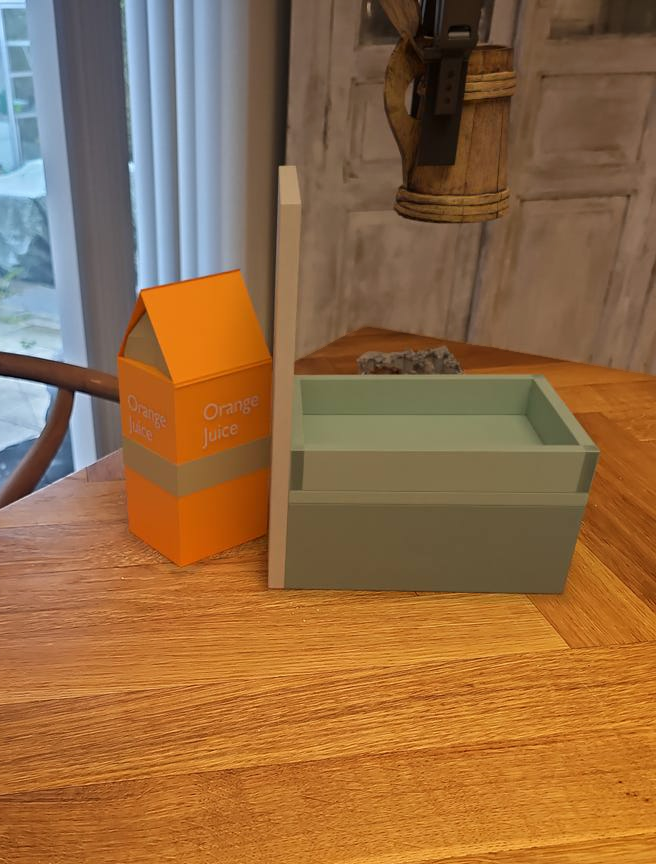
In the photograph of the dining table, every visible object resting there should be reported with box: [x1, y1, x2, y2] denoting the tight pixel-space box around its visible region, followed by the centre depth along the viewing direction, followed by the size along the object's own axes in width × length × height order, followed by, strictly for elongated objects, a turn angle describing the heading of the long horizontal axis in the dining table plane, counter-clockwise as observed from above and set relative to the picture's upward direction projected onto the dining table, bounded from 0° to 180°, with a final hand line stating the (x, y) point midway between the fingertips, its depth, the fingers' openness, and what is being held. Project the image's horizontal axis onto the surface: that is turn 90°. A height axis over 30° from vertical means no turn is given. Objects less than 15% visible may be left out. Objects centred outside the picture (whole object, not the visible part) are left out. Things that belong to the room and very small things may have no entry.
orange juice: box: [116, 268, 273, 568], centre depth 67 cm, size 8×9×20 cm
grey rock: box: [356, 345, 466, 375], centre depth 97 cm, size 11×8×4 cm
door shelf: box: [267, 165, 601, 595], centre depth 63 cm, size 21×15×26 cm
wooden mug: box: [378, 0, 517, 225], centre depth 66 cm, size 9×14×18 cm, turn 99°
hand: (429, 157), depth 69 cm, fingers closed on wooden mug, 7 cm apart
